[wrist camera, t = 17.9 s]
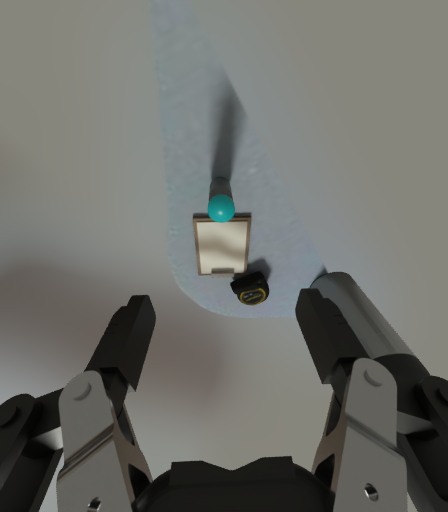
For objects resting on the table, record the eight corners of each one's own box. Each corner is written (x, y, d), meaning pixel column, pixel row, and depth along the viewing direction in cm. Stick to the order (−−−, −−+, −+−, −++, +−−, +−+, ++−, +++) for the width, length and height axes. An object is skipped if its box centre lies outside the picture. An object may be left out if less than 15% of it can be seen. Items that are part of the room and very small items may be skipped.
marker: (234, 184, 30) (240, 209, 23) (221, 199, 31) (222, 227, 24) (218, 169, 29) (219, 191, 21) (205, 186, 30) (202, 211, 23)
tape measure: (260, 265, 40) (264, 278, 37) (270, 287, 44) (274, 300, 41) (229, 277, 41) (230, 290, 38) (241, 297, 45) (243, 310, 42)
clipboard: (245, 272, 40) (246, 277, 39) (198, 273, 40) (198, 278, 39) (250, 216, 33) (251, 220, 32) (193, 217, 33) (192, 221, 32)
